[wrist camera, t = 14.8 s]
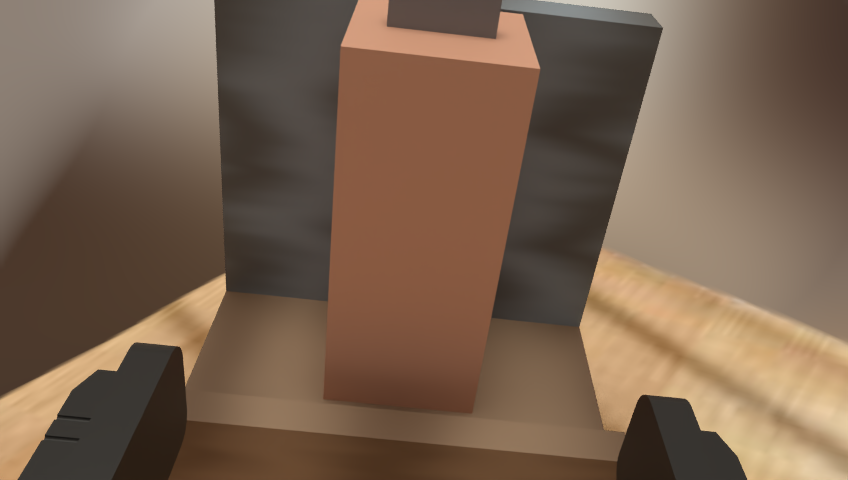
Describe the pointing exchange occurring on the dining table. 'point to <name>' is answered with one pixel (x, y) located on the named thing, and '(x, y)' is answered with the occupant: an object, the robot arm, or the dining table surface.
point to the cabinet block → (423, 196)
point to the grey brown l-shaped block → (310, 263)
